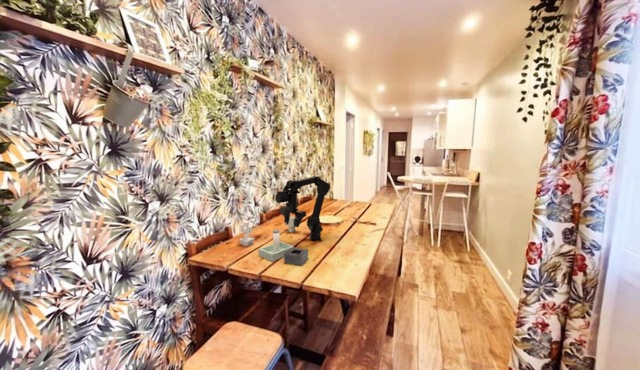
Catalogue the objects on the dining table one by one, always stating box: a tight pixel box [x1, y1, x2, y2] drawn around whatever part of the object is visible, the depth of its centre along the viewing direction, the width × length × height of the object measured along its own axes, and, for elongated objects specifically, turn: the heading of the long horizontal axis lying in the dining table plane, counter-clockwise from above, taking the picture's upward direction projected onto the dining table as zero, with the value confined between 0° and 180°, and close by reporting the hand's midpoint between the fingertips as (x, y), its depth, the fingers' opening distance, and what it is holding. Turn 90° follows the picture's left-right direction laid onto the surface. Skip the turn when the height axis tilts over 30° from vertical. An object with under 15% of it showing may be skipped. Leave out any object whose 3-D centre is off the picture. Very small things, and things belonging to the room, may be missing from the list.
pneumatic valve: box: [283, 215, 298, 233], centre depth 188 cm, size 6×12×12 cm, turn 53°
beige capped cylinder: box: [272, 229, 281, 253], centre depth 147 cm, size 4×4×13 cm
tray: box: [258, 240, 295, 262], centre depth 148 cm, size 16×12×4 cm
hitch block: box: [283, 247, 309, 267], centre depth 140 cm, size 10×10×5 cm
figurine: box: [238, 220, 256, 247], centre depth 162 cm, size 7×9×15 cm
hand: (292, 225), depth 160 cm, fingers open, 9 cm apart
